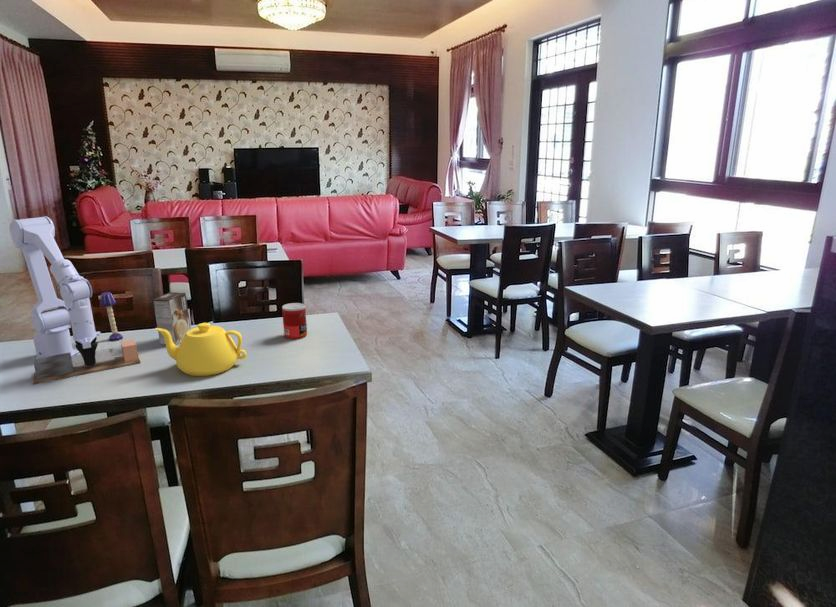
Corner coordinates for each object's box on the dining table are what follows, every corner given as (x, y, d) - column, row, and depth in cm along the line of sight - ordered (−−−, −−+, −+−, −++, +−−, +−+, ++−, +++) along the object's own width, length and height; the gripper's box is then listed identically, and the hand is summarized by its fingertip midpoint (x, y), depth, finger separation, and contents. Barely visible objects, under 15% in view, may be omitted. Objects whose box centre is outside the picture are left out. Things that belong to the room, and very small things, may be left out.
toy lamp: (112, 342, 185) (103, 295, 180) (104, 340, 187) (95, 293, 183) (125, 338, 189) (117, 292, 184) (117, 335, 191) (109, 290, 187)
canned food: (304, 339, 187) (302, 309, 184) (281, 339, 187) (279, 309, 184) (309, 332, 194) (307, 302, 191) (287, 332, 194) (284, 302, 191)
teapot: (153, 382, 155) (145, 337, 151) (169, 358, 172) (163, 317, 168) (243, 375, 159) (239, 331, 155) (251, 353, 176) (247, 312, 172)
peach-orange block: (125, 362, 167) (122, 347, 165) (123, 357, 171) (120, 341, 170) (138, 360, 169) (136, 344, 167) (136, 354, 173) (134, 339, 172)
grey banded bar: (40, 373, 156) (38, 364, 155) (40, 370, 159) (38, 361, 158) (115, 359, 166) (113, 350, 165) (114, 356, 168) (112, 348, 168)
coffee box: (176, 335, 192) (169, 291, 187) (192, 336, 190) (186, 292, 186) (159, 344, 183) (152, 299, 178) (176, 345, 182) (169, 300, 177)
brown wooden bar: (33, 384, 154) (29, 366, 152) (34, 374, 160) (30, 357, 159) (140, 363, 168) (137, 346, 166) (137, 354, 174) (134, 339, 173)
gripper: (99, 324, 156) (107, 368, 160) (96, 312, 168) (103, 352, 172) (70, 329, 153) (79, 373, 157) (69, 316, 164) (77, 357, 168)
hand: (90, 363), depth 164 cm, fingers closed on grey banded bar, 3 cm apart
